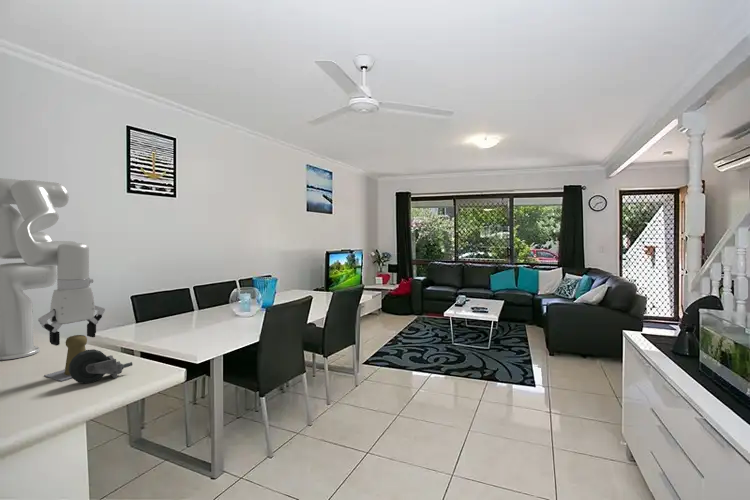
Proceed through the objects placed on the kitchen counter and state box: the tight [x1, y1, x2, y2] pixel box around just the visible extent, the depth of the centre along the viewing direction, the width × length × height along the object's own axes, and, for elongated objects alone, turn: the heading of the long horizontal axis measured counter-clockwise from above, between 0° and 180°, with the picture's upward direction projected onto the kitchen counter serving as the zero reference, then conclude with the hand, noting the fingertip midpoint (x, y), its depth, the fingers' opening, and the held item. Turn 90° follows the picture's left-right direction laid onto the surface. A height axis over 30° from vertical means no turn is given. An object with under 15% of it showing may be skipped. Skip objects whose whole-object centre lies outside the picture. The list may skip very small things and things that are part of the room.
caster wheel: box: [69, 349, 133, 384], centre depth 113 cm, size 6×10×15 cm
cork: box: [64, 334, 88, 375], centre depth 118 cm, size 6×6×11 cm
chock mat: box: [43, 369, 73, 382], centre depth 118 cm, size 9×11×1 cm
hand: (73, 340), depth 117 cm, fingers open, 9 cm apart
